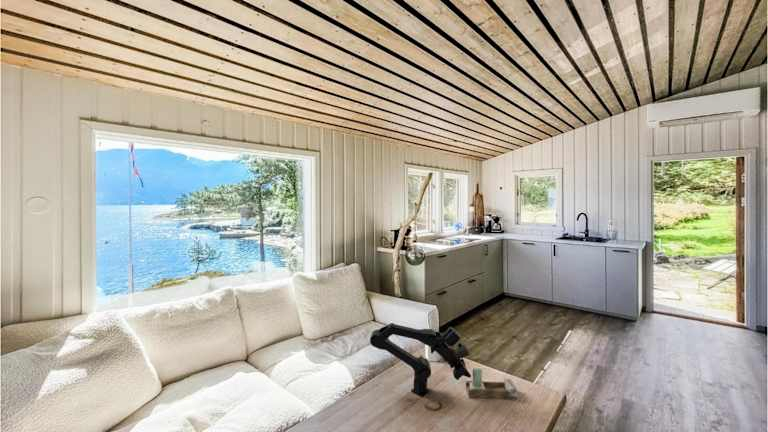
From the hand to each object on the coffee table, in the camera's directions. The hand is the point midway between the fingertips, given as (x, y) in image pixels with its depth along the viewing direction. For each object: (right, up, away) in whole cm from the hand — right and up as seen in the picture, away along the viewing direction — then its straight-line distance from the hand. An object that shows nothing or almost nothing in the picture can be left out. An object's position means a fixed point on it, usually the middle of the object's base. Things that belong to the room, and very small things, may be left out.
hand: (470, 376), depth 147 cm
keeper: (+3, -6, 0) cm, 7 cm away
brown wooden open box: (+9, -8, -1) cm, 12 cm away
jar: (-12, -7, +35) cm, 37 cm away
